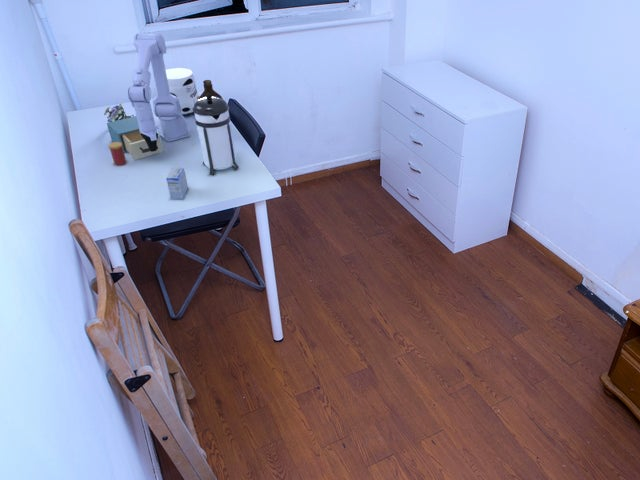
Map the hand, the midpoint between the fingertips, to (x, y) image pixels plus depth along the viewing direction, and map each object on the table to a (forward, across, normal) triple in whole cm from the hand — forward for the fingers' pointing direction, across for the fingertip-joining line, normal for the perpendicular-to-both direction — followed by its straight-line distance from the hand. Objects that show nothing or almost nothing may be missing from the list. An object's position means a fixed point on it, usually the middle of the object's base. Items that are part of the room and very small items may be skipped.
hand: (153, 150), depth 213 cm
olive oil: (+6, +12, -28) cm, 31 cm away
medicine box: (+6, -27, -1) cm, 28 cm away
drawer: (+5, +11, +2) cm, 13 cm away
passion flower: (+6, +44, +3) cm, 45 cm away
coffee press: (+6, -13, -20) cm, 25 cm away
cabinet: (+6, +24, +3) cm, 25 cm away
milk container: (+6, +48, -24) cm, 54 cm away
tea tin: (+6, +8, +12) cm, 16 cm away
